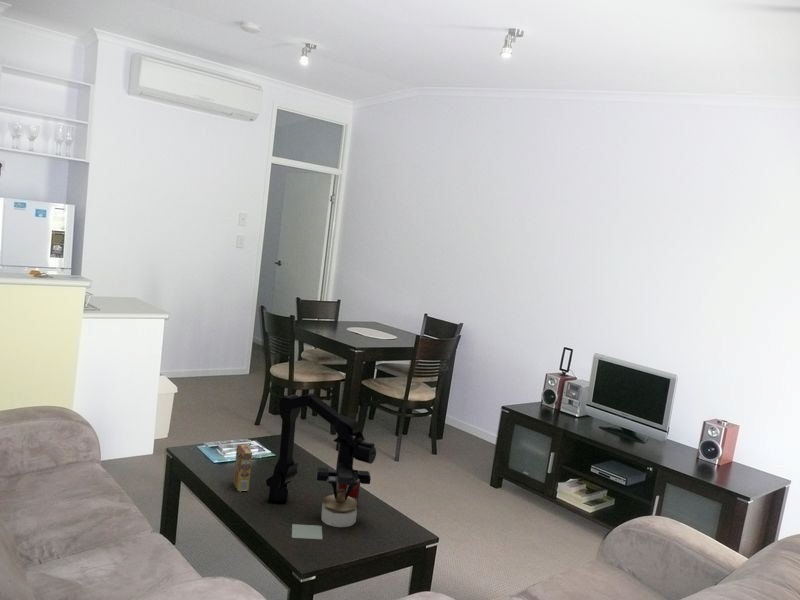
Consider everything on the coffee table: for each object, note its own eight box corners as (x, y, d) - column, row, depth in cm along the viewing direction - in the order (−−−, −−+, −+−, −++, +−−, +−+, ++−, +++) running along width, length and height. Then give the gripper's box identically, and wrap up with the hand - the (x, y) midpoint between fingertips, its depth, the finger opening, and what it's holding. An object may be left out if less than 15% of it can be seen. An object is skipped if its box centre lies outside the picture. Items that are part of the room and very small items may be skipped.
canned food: (354, 511, 250) (358, 482, 249) (333, 506, 252) (337, 478, 251) (359, 503, 258) (363, 475, 257) (339, 499, 259) (343, 471, 258)
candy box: (248, 491, 256) (253, 452, 254) (237, 492, 254) (241, 452, 252) (243, 483, 264) (247, 444, 262) (232, 483, 262) (236, 445, 260)
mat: (291, 538, 222) (291, 537, 222) (292, 525, 232) (292, 524, 232) (322, 540, 224) (322, 539, 224) (321, 527, 234) (321, 525, 234)
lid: (323, 509, 233) (325, 496, 233) (322, 495, 245) (324, 482, 244) (358, 511, 235) (359, 498, 234) (355, 497, 247) (357, 485, 246)
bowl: (321, 527, 234) (323, 513, 233) (320, 512, 246) (322, 499, 245) (356, 529, 236) (357, 515, 235) (353, 514, 247) (355, 501, 247)
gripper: (319, 462, 229) (314, 506, 231) (374, 466, 232) (368, 510, 233) (318, 451, 240) (313, 493, 241) (371, 455, 243) (365, 497, 244)
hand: (340, 499), depth 240 cm, fingers closed on lid, 3 cm apart
